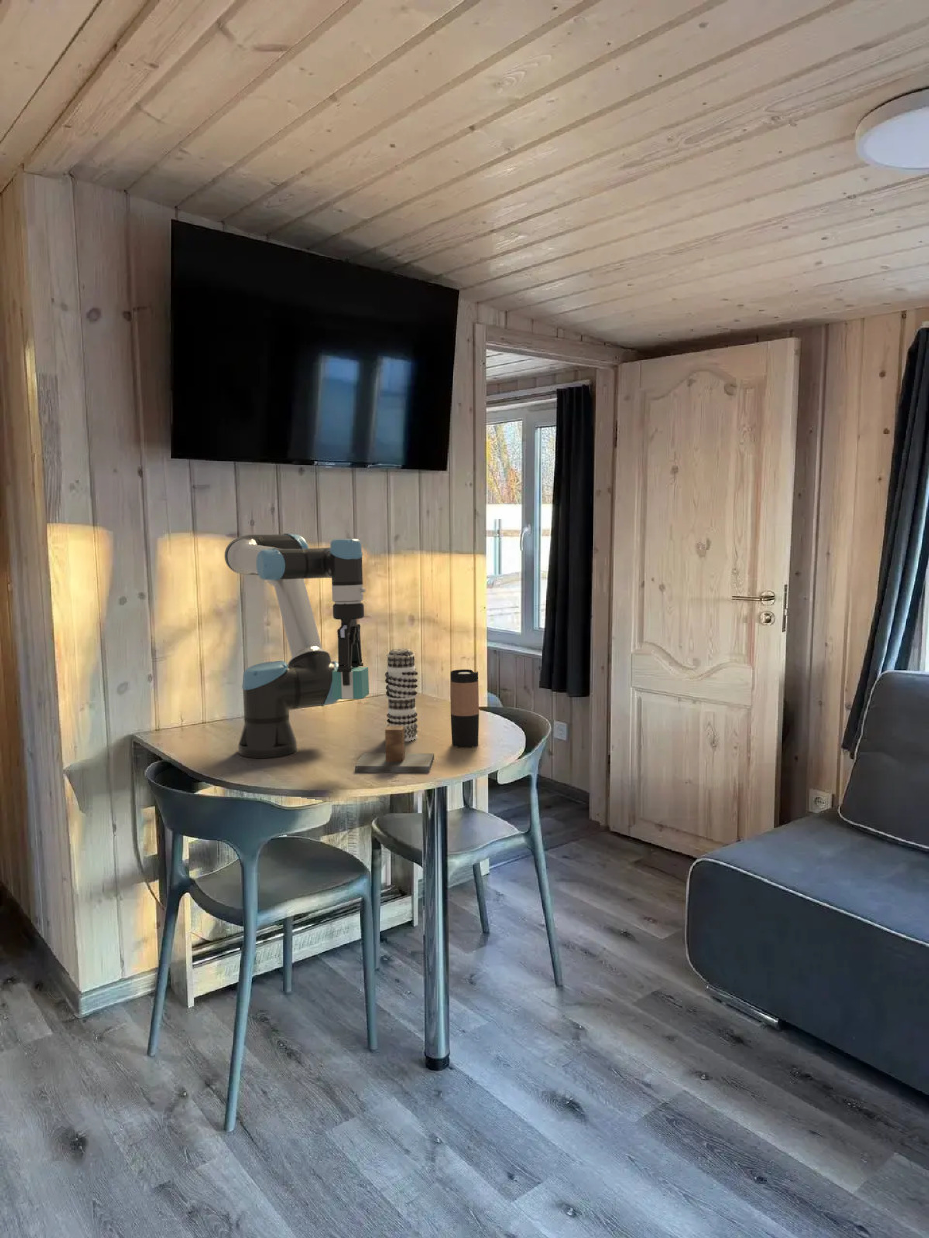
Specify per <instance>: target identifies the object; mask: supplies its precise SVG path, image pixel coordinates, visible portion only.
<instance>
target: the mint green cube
mask: <svg viewBox="0 0 929 1238" xmlns="http://www.w3.org/2000/svg"><path fill="white" fill-rule="evenodd" d="M351 671H353V695H354V698H353V699H352V700H364V699H365V698H366V697H367V696H369V695H370V682H369V679H370V678H369V666H359V667H352V666H351ZM332 677H333V699H339V700H343V699H342V688H341V672H337V669H336V670H334V671H332Z"/></svg>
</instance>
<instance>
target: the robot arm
mask: <svg viewBox="0 0 929 1238" xmlns="http://www.w3.org/2000/svg"><path fill="white" fill-rule="evenodd" d="M224 561H225V563H226V566H227V567H228V568H229V569H230V570H231V571H233V572H234V573H237V574H240V575H247V576H259V578H260V579H261V580H263V581H267V583H268V584H269V585H270V586H273V587H274V592H275V594H276V600H277V602H278V606H279V607H278V608H279V610H280V614H281V618H282V623H283V626H284V631H285V635H286V638H287V639H286V640H287V644H288V647H289V651H290V655H291V658H290V659H289V661H288V662H286V661H284V660H276V661H271V660H270V661H265V662H260V663H257V664H254V665H251V666H249V667H247V668H246V669H244V671H243V674H242V684H241V685H242V686H241V687H242V693H243V695H242V697H243V719H244V720H243V721H244V723H243V727H242V731H241V734H240V738H239V742H238V745H237V747H238V754H239V755H240V756H242V757H245V758H253V759H254V758H255V759H269V758H277V757H278V758H279V757H283V756H288V755H290V754H294V753H295V752H297V750H298V744H297V743H298V742H297V737H296V736H295V732H294V730H293V728H292V725H291V722H290V711H291V710H297V709H307V708H313V707H314V708H317V707H324V706H329V705H333V704H335V703H337V702H338V701H339V700H340V699H333V677H332V671H334V670H336V669H337V672H341V688H342V699H341V700H354V699H353V698H354V695H353V671H351V667H364V662H363V655H362V643H361V640H362V639H361V624H360V623H357V620H359V619H363V618H365V606H364V605H365V604H363V601H364V593H365V592H366V589H365V588H364V582H363V581H364V579H363V578H364V577H363V575H364V574H363V573H364V572H363V552H362V542H361V540H360V539H358V538H342V539H341V538H340V539H339V538H338V539H332V540H331V541H330V546H329V547H316V548H315V547H314V548H313V547H312V548H310V547H309V544H308V543H307V541H306V539H305V538H304V537H303V536H301V535H300V534H297V533H296V534H292V533H288V532H287V533H283V534H281V533H280V534H245V535H242V536H239V537H236V538H235V539H233V540H232V541H230V542H229V543H228V545H227V546H226V548H225V551H224ZM305 579H307V580H309V579H331V595H332V596H331V597H332V598H331V601H332V602H333V604H332V618H333V619H334V620H340V621H341V623H340V626H339V628H337V631H336V632H337V633H336V634H337V659H338V660H333V661H332V659H331V654H330V653H329V652H328V651H327V650H325V649H323V647H322V642H321V639H320V635H319V631H318V627H317V625H316V621H315V616H314V613H313V609H312V606H311V602H310V598H309V594H308V589H307V585H306V583H305Z"/></svg>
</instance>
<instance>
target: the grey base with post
mask: <svg viewBox="0 0 929 1238" xmlns="http://www.w3.org/2000/svg"><path fill="white" fill-rule="evenodd" d="M384 733H385V734H384V736H385V737H384V738H385V739H384V740H385V752H363V754H362V755H361V756H360V758H359V760H358V761H357V762H356V763H355V766H354V772H355V773H427V774H428V773H430V771H431V769H432V767H433V764H432V763H434V761H433V760H435V753H433V752H432V753H429V752H428V753H423V752H422V753H420V752H419V753H418V752H415V753H414V752H411V753H410V752H409V753H406V746H405V745H406V743H405V742H406V741H405V729H404V726H387V725H386V728H385V731H384Z"/></svg>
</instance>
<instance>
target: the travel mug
mask: <svg viewBox="0 0 929 1238" xmlns="http://www.w3.org/2000/svg"><path fill="white" fill-rule="evenodd" d="M479 689H480V688H479V671H478V670H477V671H476V672H475V671H473V670H472V669H467V668H466V669H454V670H452V671H450V726H451V727H450V728H451V745H452V746H453V747H455V746H457V747H456V748H460V747H469V748H473V747H472V746H475V747H477V746H478V745H479V732H480V731H479V730H480V728H479V727H480V726H479V724H480V721H479V720H480V704H479V703H480V697H479Z"/></svg>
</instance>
